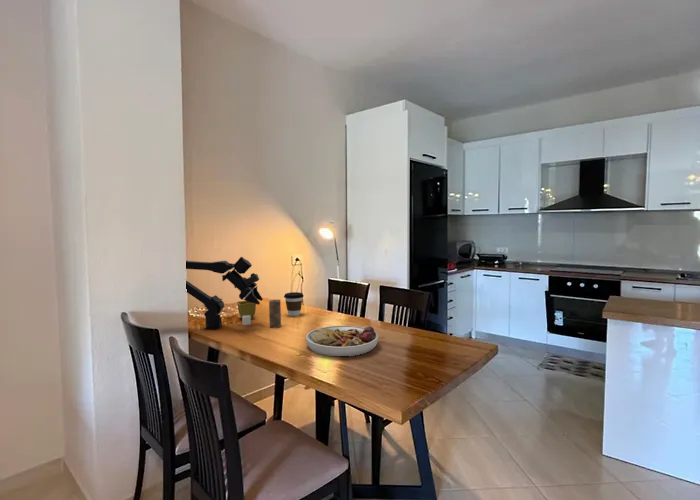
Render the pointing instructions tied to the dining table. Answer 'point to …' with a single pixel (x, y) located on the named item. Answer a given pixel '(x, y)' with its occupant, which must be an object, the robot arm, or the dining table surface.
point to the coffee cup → (293, 303)
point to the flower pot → (246, 308)
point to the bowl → (342, 340)
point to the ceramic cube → (246, 320)
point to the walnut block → (275, 313)
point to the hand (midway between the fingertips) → (260, 301)
